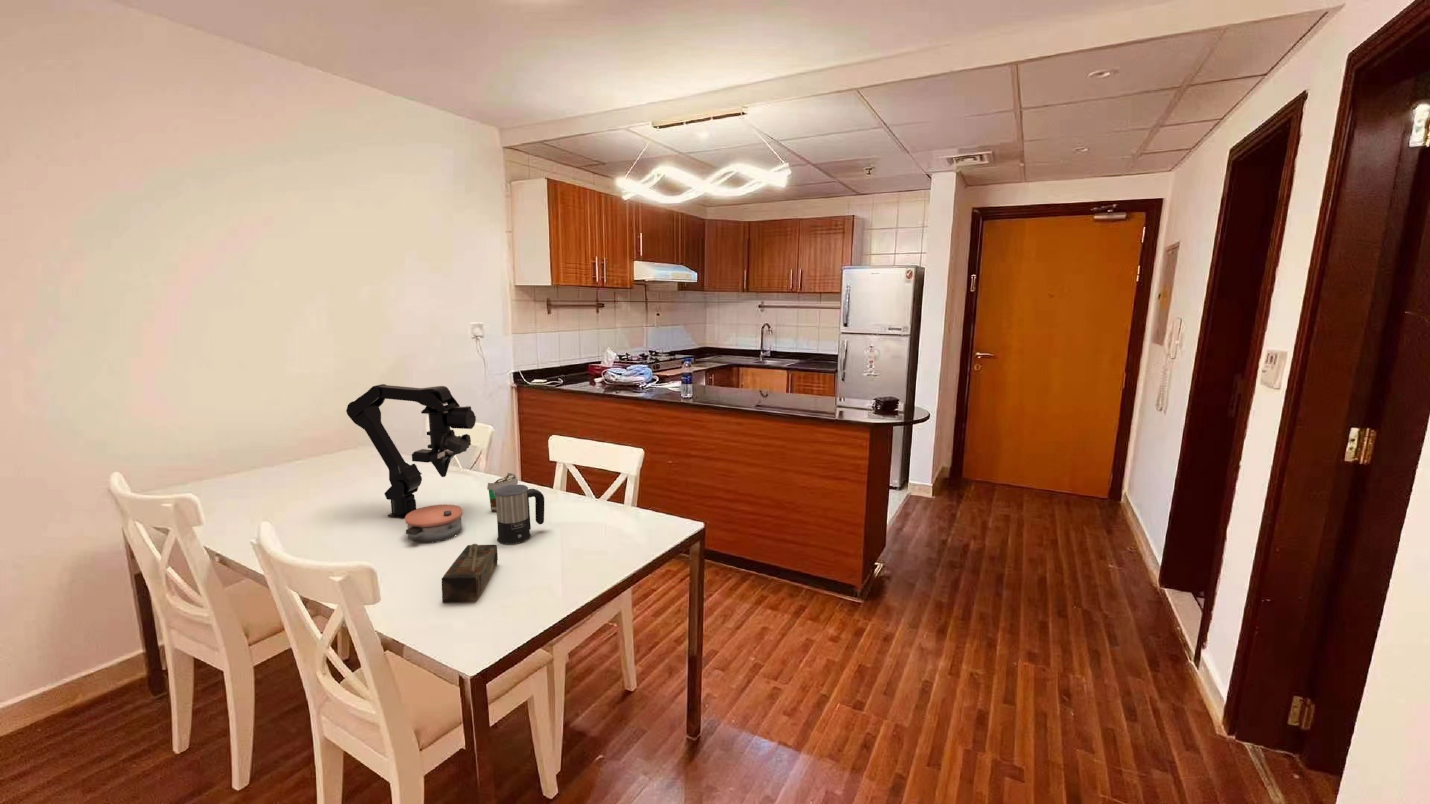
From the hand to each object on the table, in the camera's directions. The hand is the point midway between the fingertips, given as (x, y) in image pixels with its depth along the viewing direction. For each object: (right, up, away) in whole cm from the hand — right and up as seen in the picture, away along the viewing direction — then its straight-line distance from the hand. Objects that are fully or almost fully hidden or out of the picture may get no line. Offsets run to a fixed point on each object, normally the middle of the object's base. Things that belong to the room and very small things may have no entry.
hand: (443, 476), depth 176 cm
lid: (+3, -10, -11) cm, 16 cm away
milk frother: (+25, -16, -10) cm, 31 cm away
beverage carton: (+26, -21, -39) cm, 51 cm away
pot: (+3, -15, -11) cm, 19 cm away
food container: (+16, -12, +11) cm, 23 cm away
